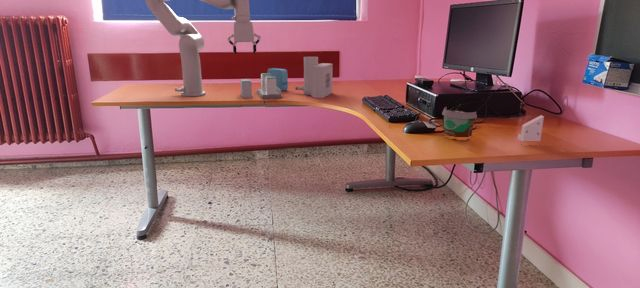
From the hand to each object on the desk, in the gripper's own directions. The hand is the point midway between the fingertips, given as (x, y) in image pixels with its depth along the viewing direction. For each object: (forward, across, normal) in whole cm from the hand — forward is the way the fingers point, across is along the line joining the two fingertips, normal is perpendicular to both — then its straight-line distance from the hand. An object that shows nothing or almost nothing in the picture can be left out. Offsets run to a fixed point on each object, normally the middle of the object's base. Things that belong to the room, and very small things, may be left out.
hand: (245, 53), depth 226 cm
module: (+22, -1, -1) cm, 22 cm away
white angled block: (+26, +82, -114) cm, 143 cm away
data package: (+23, +18, +16) cm, 33 cm away
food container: (+25, +62, -102) cm, 122 cm away
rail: (+22, +11, 0) cm, 25 cm away
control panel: (+23, +34, -4) cm, 42 cm away
